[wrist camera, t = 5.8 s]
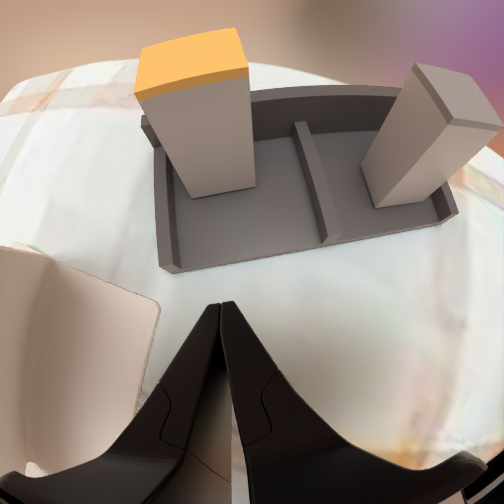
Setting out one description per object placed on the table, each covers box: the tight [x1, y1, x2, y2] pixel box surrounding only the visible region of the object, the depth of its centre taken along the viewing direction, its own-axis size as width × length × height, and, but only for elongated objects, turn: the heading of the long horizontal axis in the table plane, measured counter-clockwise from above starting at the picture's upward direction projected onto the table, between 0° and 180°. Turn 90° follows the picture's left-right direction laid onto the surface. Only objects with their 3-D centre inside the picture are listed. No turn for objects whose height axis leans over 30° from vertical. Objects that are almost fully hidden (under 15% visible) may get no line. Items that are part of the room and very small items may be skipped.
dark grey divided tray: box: [141, 85, 459, 274], centre depth 19 cm, size 11×24×7 cm, turn 100°
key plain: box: [360, 62, 504, 208], centre depth 15 cm, size 4×5×12 cm
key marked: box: [134, 28, 256, 199], centre depth 16 cm, size 4×5×12 cm
